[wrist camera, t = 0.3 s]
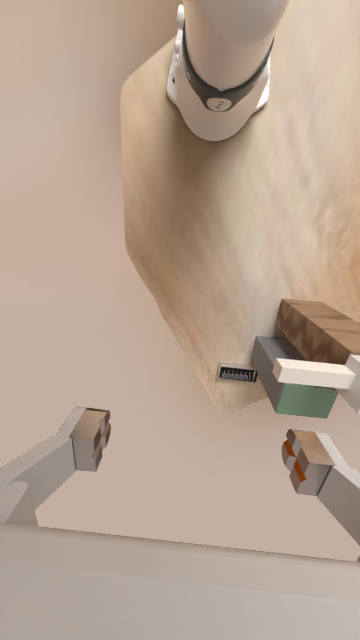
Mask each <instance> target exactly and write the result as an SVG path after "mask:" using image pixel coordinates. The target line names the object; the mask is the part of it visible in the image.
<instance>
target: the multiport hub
mask: <svg viewBox="0 0 360 640" xmlns="http://www.w3.org/2000/svg"><path fill="white" fill-rule="evenodd" d="M217 374H218V378H219V379H226V380H235V381H244V382H253V383H256V382H257V379H258V373H257V371H256V369H255V366H253V365H244V364H235V363H225V362H220V363H219V368H218V373H217Z"/></svg>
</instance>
